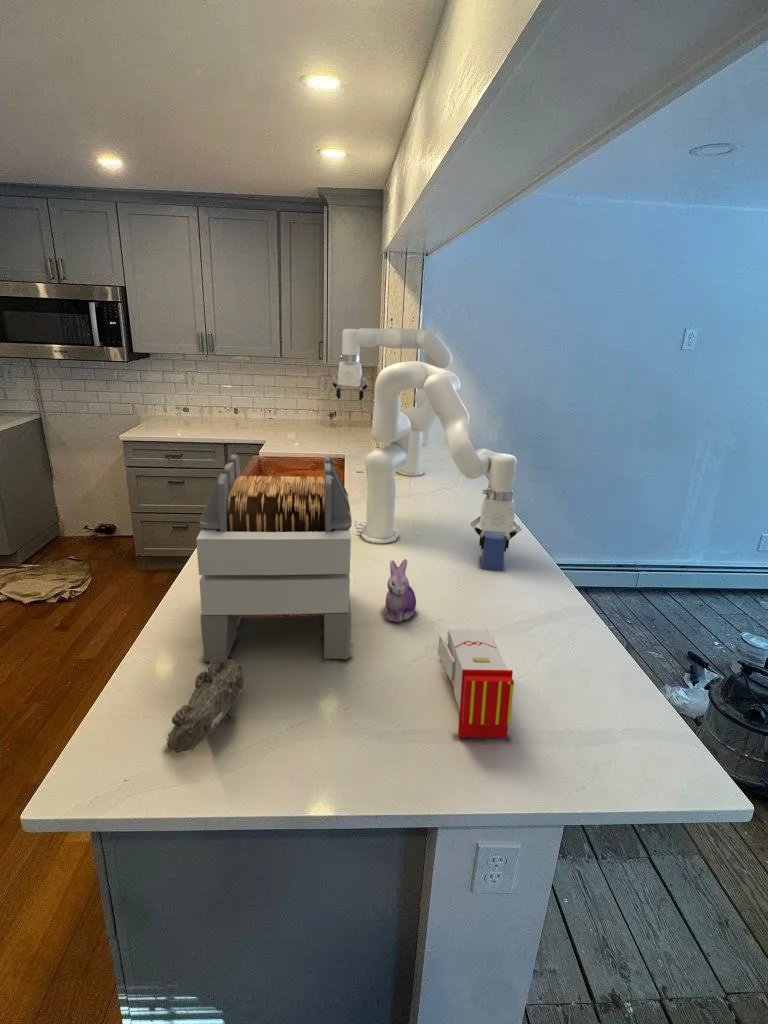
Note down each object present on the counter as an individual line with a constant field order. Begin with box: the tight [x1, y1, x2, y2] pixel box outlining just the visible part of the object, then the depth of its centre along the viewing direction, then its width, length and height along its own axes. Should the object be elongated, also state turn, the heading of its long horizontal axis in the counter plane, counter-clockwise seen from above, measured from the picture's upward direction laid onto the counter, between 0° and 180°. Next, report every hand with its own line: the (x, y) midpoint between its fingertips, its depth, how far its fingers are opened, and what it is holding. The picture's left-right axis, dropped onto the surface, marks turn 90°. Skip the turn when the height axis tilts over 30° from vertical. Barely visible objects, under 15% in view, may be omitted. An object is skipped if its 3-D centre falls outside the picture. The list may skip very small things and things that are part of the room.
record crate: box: [195, 453, 353, 663], centre depth 134 cm, size 34×33×41 cm
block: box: [481, 531, 506, 572], centre depth 178 cm, size 6×9×10 cm
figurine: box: [384, 558, 417, 623], centre depth 145 cm, size 9×10×15 cm
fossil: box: [166, 658, 245, 754], centre depth 106 cm, size 22×10×15 cm
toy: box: [437, 628, 515, 738], centre depth 117 cm, size 12×13×30 cm
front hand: (493, 548), depth 178 cm, fingers closed on block, 6 cm apart
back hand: (349, 399), depth 249 cm, fingers open, 9 cm apart
